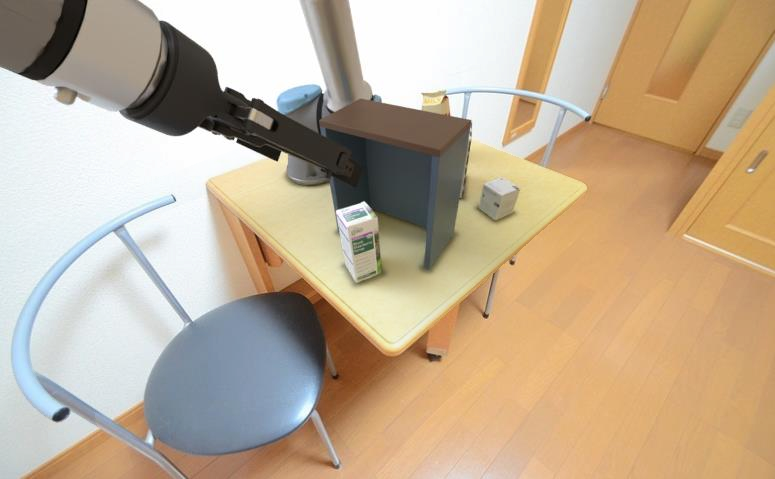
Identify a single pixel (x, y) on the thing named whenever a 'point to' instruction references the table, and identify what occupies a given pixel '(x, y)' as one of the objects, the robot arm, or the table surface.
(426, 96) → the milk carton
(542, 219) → the table surface
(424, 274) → the table surface
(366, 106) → the cupboard
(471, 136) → the candy bar box
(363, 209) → the syrup box
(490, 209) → the product carton
